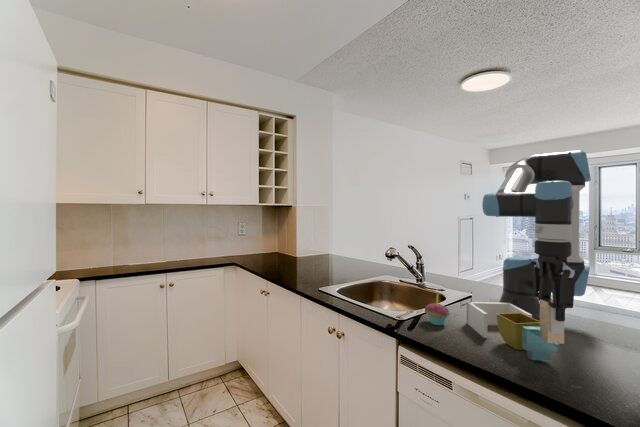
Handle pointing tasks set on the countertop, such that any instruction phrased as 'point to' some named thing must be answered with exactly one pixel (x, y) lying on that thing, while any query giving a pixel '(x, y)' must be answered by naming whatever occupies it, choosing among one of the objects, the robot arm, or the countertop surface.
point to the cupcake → (436, 312)
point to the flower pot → (514, 327)
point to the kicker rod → (541, 335)
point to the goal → (488, 314)
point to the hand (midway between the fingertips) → (551, 329)
